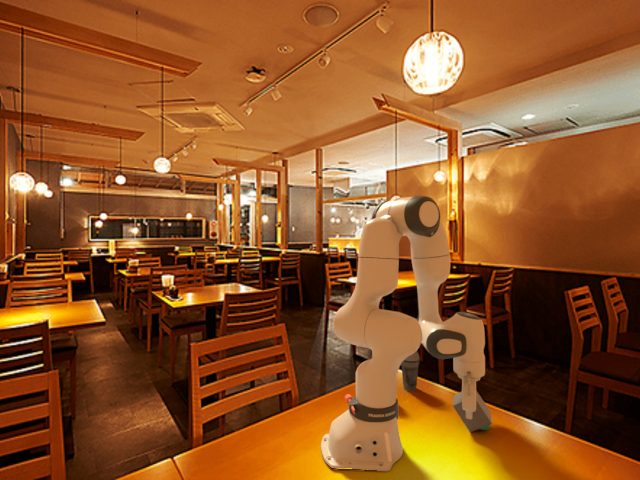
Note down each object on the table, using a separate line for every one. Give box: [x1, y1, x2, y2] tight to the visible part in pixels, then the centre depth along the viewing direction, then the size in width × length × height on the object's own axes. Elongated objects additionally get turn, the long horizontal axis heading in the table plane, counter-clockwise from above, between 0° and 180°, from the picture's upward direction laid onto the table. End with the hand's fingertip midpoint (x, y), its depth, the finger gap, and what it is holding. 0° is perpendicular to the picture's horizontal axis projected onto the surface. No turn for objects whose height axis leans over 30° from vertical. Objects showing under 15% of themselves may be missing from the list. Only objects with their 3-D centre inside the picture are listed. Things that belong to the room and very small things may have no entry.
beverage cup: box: [400, 350, 421, 392], centre depth 130 cm, size 7×7×20 cm
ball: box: [479, 424, 492, 431], centre depth 105 cm, size 5×5×5 cm
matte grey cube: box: [452, 390, 493, 433], centre depth 106 cm, size 7×7×9 cm
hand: (469, 410), depth 106 cm, fingers closed on matte grey cube, 7 cm apart
